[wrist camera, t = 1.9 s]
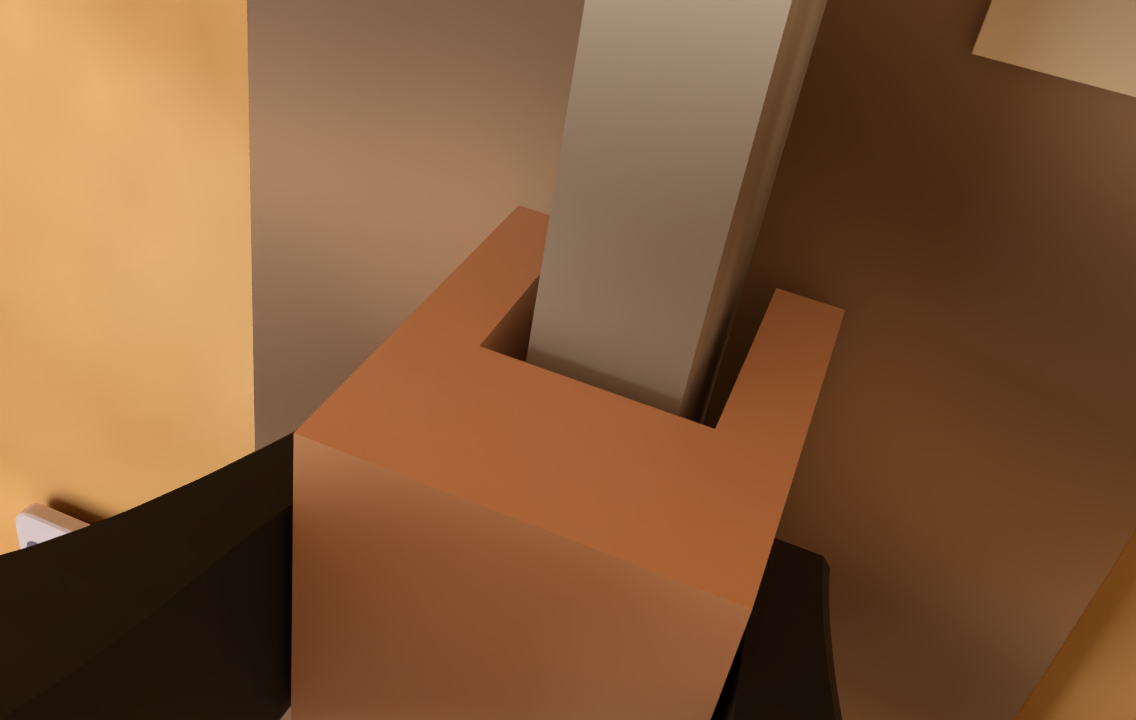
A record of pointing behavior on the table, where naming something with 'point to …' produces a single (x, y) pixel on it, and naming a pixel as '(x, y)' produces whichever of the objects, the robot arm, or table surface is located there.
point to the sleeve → (534, 517)
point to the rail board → (760, 266)
